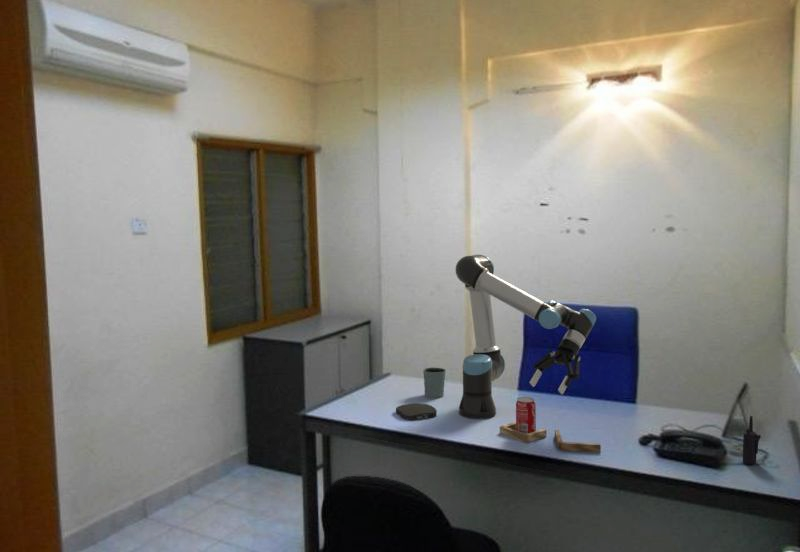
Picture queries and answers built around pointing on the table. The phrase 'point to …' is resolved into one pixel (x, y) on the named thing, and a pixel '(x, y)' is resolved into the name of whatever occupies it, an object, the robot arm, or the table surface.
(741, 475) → the table surface
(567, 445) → the bracket
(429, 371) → the grey-green cup
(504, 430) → the wooden u-channel
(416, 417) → the media streaming box
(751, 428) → the two-way radio
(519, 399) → the soda can
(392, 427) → the table surface
